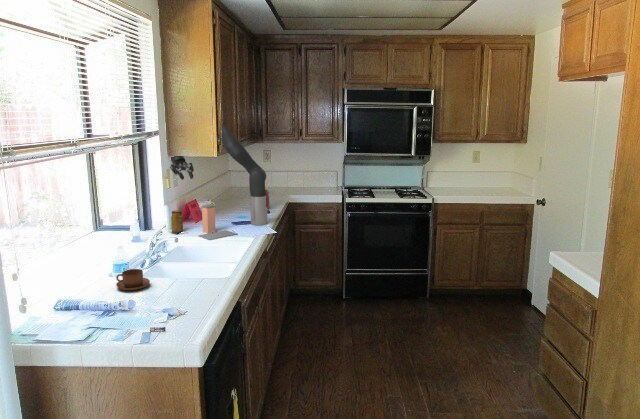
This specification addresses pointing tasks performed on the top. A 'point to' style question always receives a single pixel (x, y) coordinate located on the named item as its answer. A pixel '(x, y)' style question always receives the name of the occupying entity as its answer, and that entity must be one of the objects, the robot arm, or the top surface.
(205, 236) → the mat
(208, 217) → the block
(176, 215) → the condiment
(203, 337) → the top surface
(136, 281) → the cup and saucer
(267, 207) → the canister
